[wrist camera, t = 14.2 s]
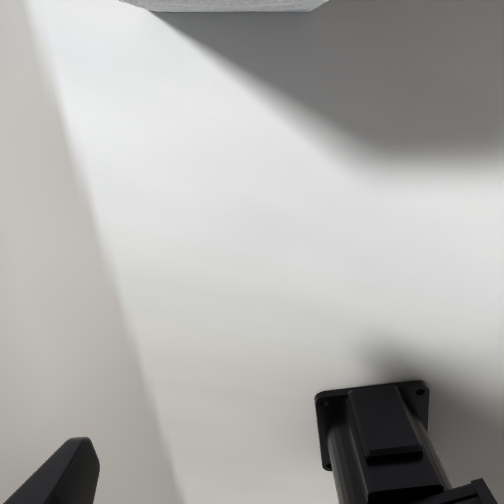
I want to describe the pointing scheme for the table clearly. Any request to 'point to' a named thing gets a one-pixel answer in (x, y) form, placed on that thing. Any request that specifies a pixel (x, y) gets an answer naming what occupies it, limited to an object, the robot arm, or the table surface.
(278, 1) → the light bulb box
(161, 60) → the table surface
